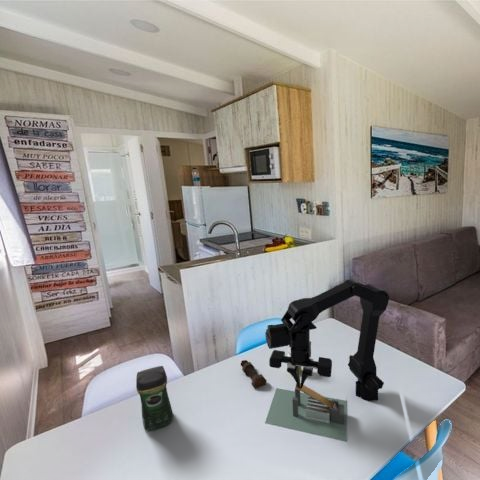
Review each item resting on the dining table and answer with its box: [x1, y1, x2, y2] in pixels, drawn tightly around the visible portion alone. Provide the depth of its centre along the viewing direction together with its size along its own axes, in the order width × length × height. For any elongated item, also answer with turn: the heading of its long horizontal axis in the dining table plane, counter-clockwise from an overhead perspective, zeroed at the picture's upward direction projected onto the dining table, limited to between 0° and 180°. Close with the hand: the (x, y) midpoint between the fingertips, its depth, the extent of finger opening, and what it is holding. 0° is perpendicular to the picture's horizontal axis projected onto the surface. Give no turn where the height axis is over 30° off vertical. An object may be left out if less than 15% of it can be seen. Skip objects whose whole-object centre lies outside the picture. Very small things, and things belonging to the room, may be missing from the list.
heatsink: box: [306, 395, 331, 425], centre depth 93 cm, size 7×7×3 cm
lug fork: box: [292, 387, 301, 417], centre depth 95 cm, size 2×6×6 cm, turn 160°
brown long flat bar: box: [294, 382, 337, 409], centre depth 92 cm, size 14×3×1 cm, turn 70°
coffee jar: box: [135, 365, 174, 432], centre depth 95 cm, size 10×8×19 cm
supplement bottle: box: [286, 347, 302, 374], centre depth 114 cm, size 5×5×10 cm
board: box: [264, 387, 348, 442], centre depth 94 cm, size 24×16×1 cm, turn 70°
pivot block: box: [331, 400, 344, 425], centre depth 90 cm, size 4×4×4 cm
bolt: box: [240, 359, 267, 390], centre depth 114 cm, size 6×5×15 cm
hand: (300, 386), depth 93 cm, fingers closed
